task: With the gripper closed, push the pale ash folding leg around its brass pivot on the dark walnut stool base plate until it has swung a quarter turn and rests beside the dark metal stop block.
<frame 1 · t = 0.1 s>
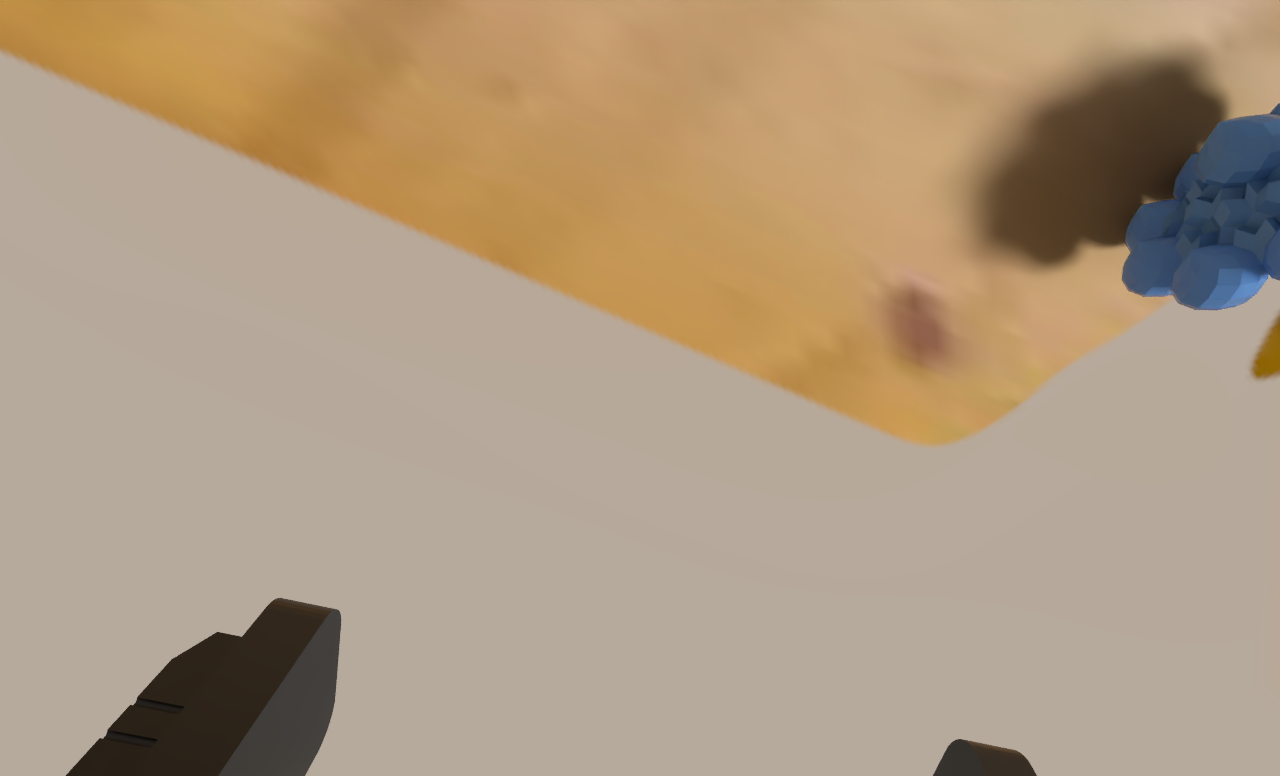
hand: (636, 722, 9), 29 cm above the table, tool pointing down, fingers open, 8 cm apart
grapes: (1171, 167, 34), on the table
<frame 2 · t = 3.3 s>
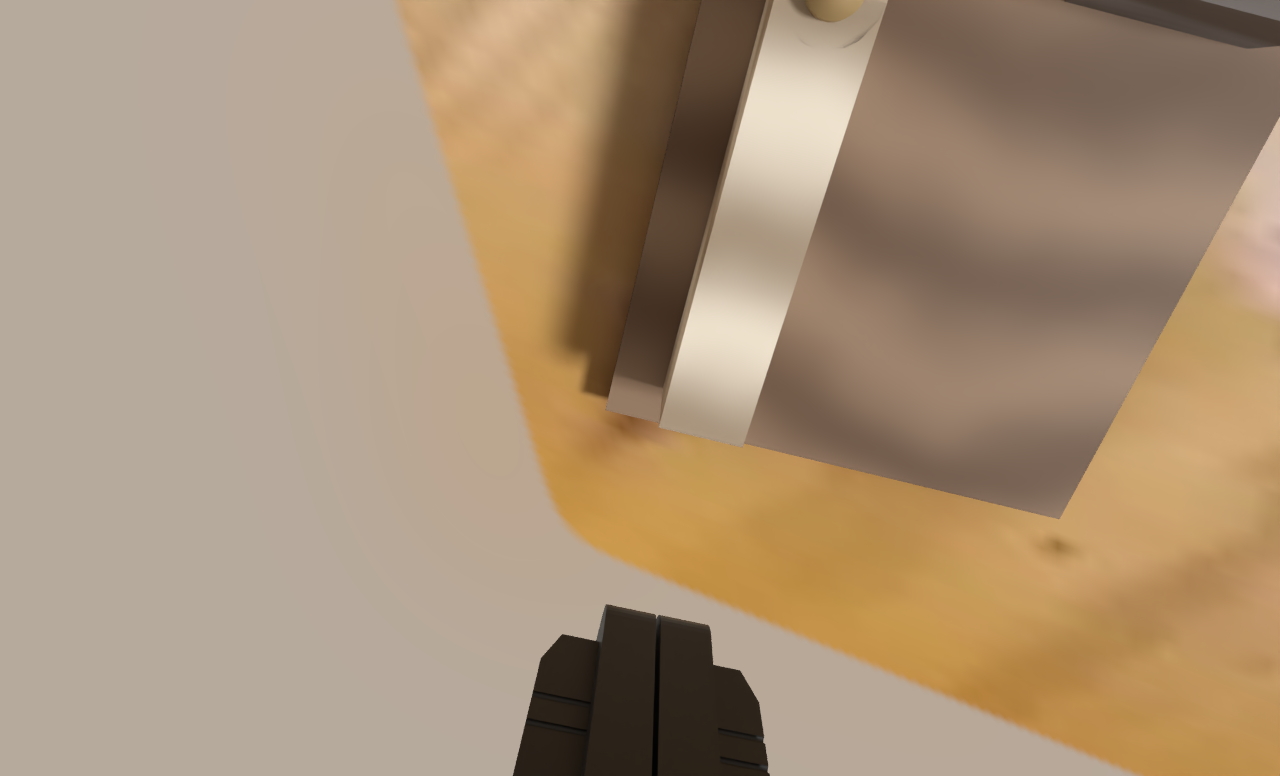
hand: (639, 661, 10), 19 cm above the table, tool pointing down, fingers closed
stool base plate: (913, 229, 26), on the table
folding leg: (761, 209, 23), point 3 cm above the table, hinge at 0.0°
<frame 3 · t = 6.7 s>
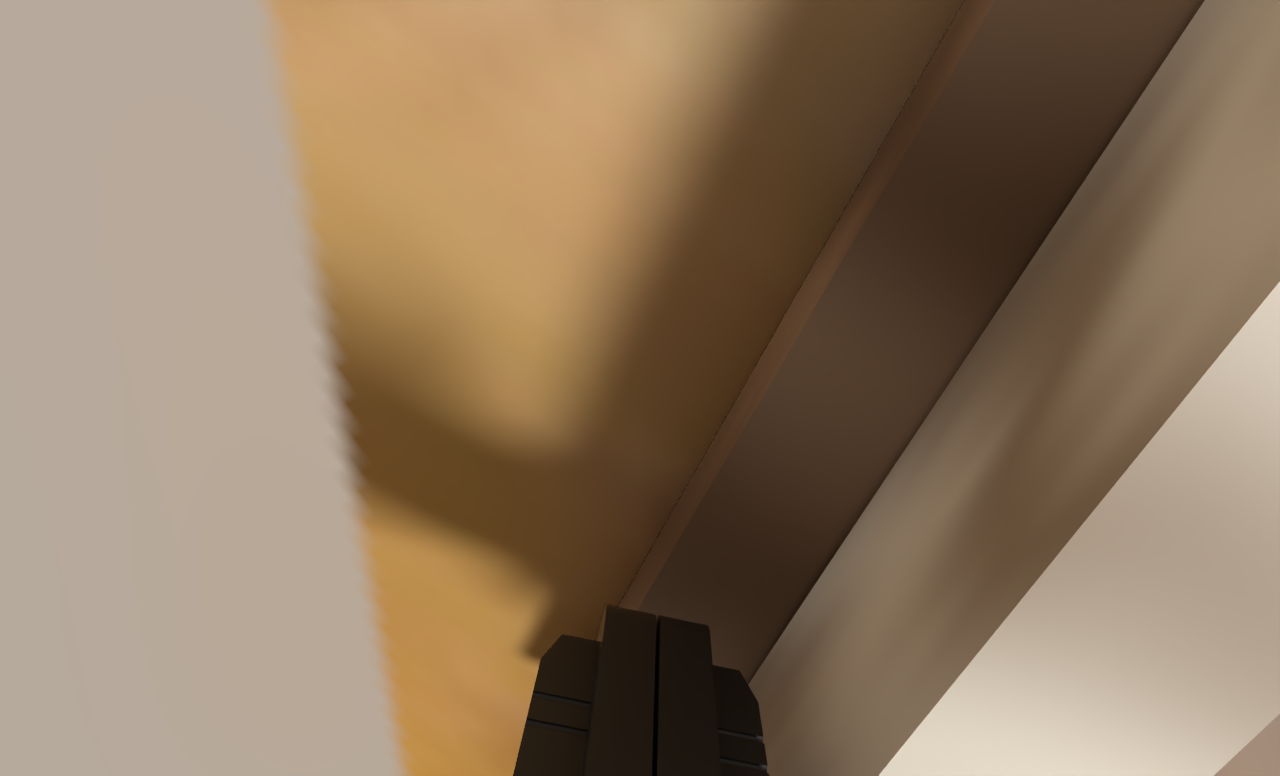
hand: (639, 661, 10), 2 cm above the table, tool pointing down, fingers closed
folding leg: (1181, 436, 8), point 3 cm above the table, hinge at 1.0°, touching gripper
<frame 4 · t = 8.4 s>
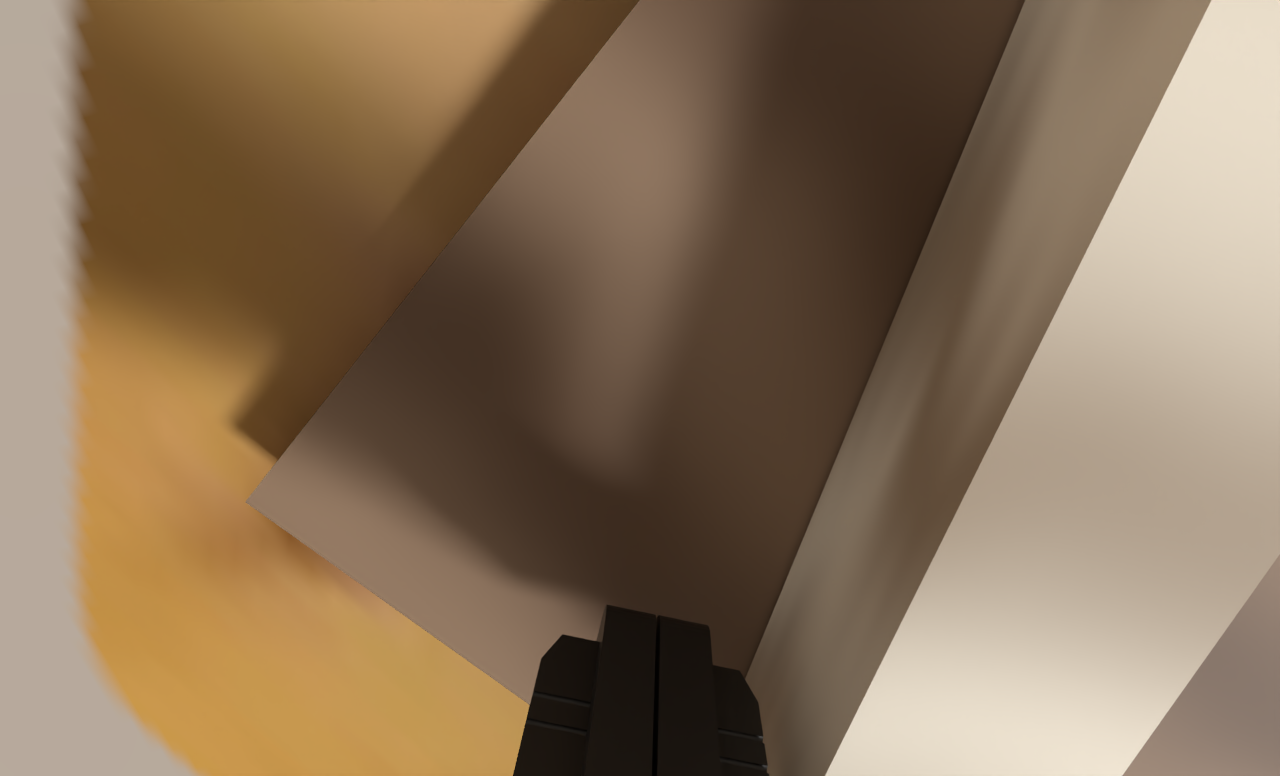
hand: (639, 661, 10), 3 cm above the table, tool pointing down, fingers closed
stool base plate: (1079, 449, 11), on the table
folding leg: (1089, 373, 8), point 3 cm above the table, hinge at 26.9°, touching gripper
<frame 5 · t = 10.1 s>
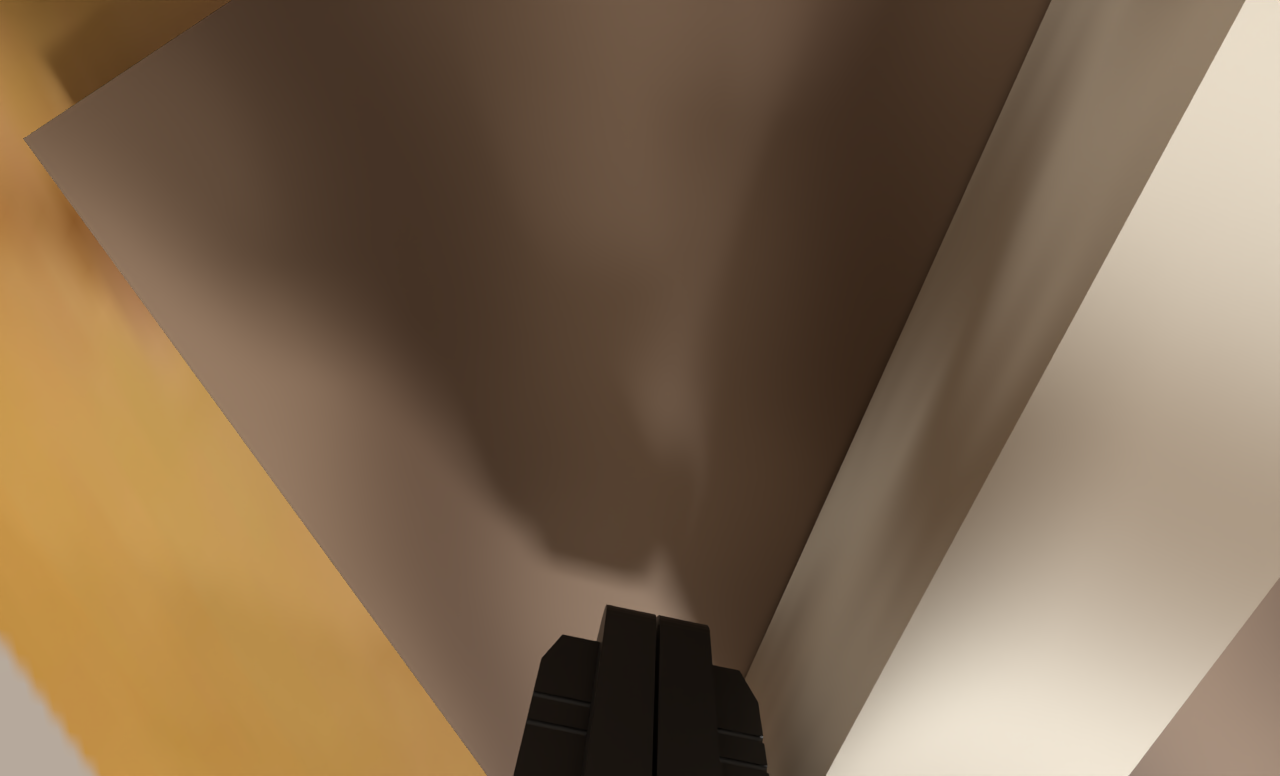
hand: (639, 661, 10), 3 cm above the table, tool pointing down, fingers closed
stool base plate: (908, 419, 11), on the table
folding leg: (1110, 366, 8), point 3 cm above the table, hinge at 47.2°, touching gripper
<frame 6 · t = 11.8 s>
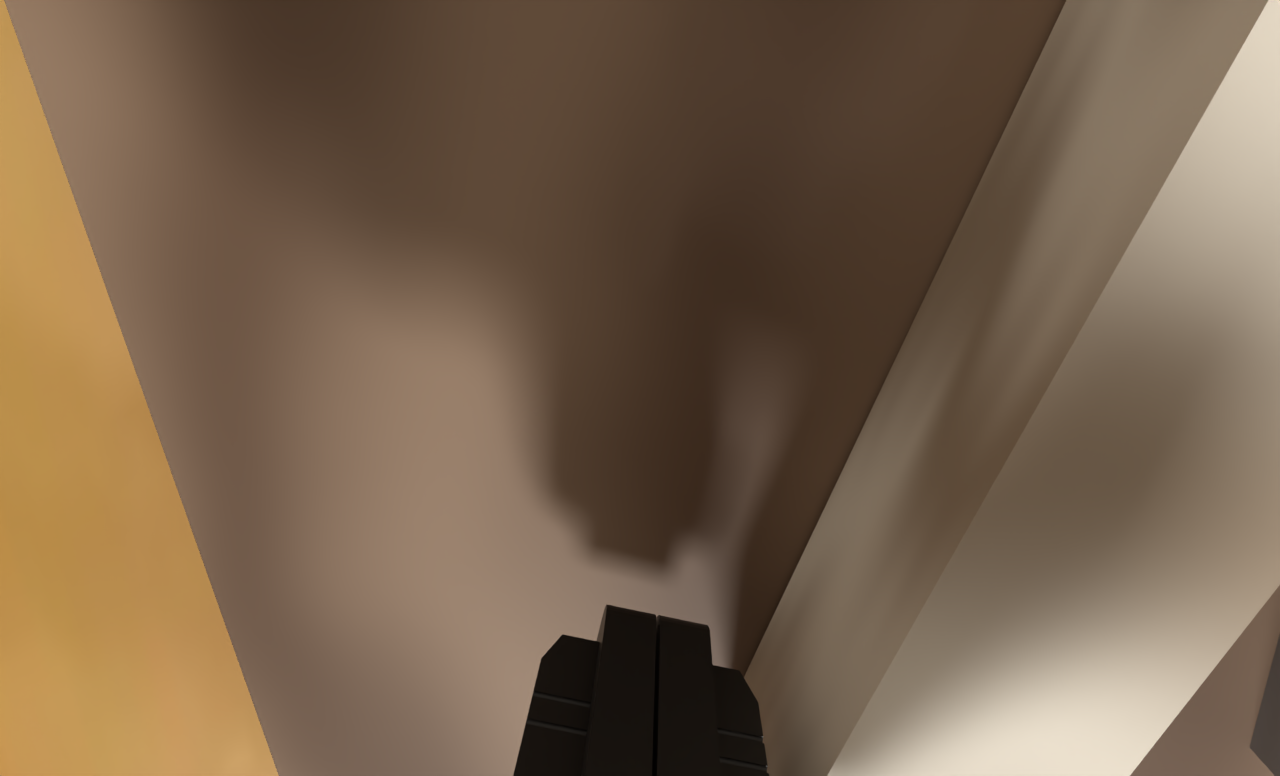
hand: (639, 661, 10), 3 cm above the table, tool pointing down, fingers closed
stool base plate: (758, 329, 11), on the table
folding leg: (1118, 368, 8), point 3 cm above the table, hinge at 67.2°, touching gripper
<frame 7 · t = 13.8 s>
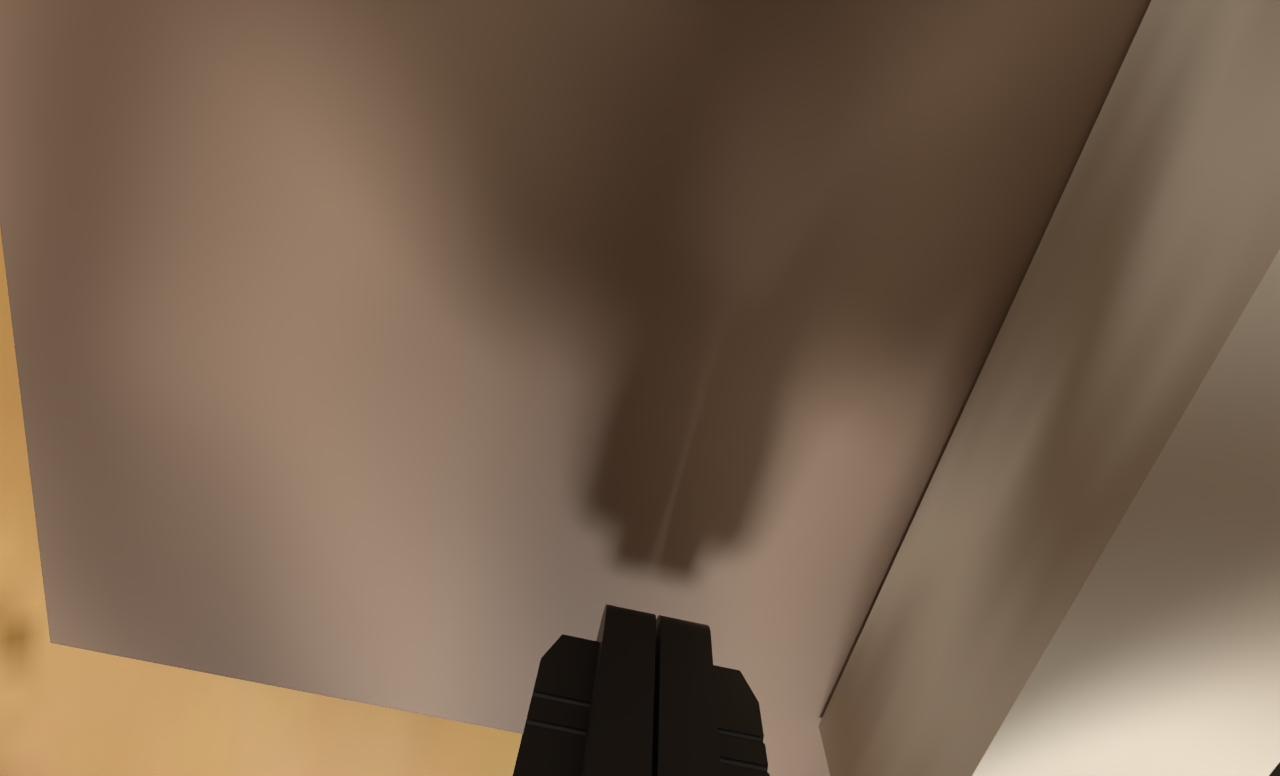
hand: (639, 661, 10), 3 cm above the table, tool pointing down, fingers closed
stool base plate: (703, 208, 10), on the table
folding leg: (1226, 381, 8), point 3 cm above the table, hinge at 87.6°
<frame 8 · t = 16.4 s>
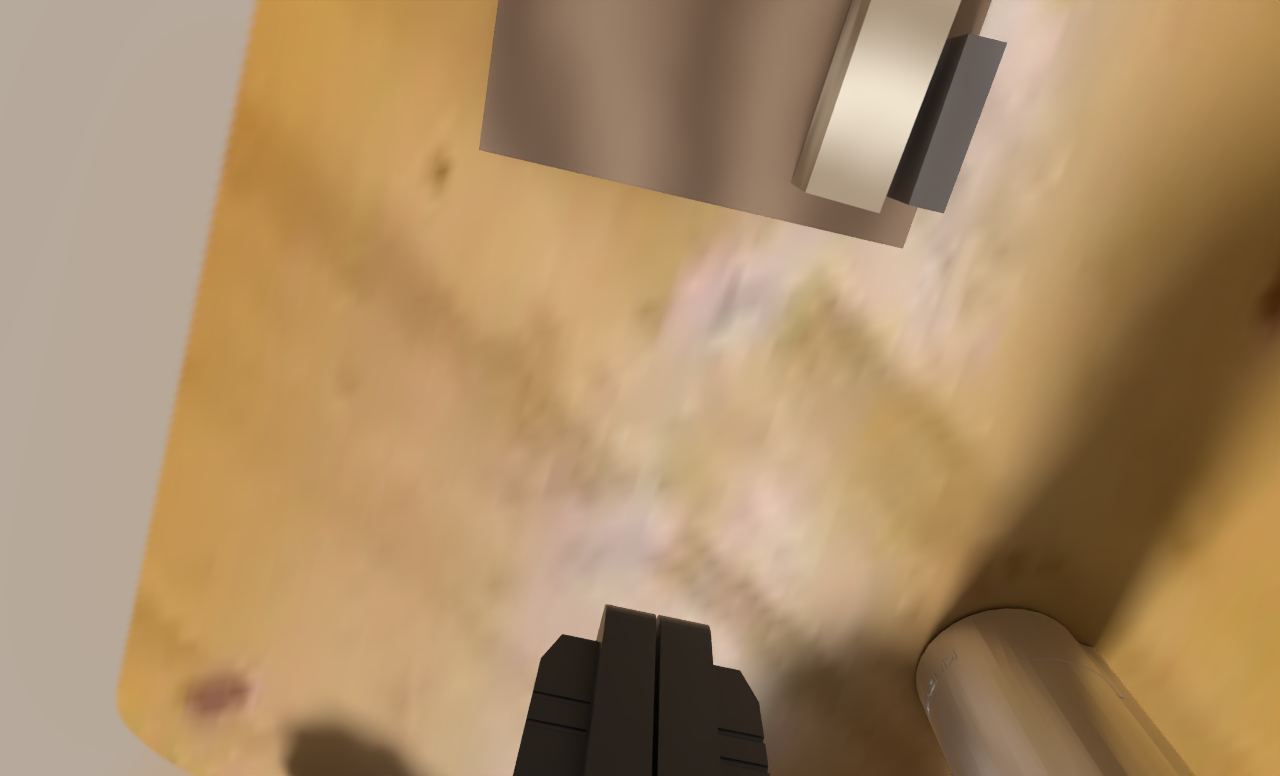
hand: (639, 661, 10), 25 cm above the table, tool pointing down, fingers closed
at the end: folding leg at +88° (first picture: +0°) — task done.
